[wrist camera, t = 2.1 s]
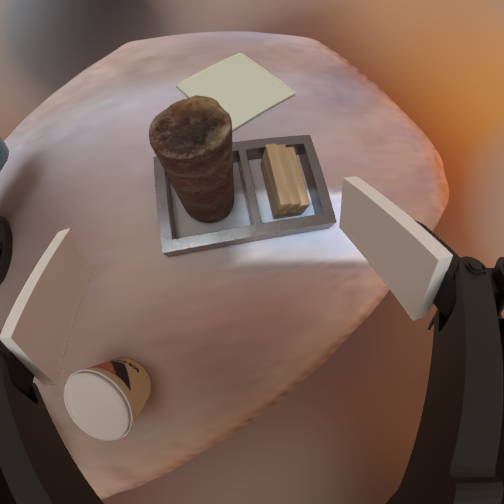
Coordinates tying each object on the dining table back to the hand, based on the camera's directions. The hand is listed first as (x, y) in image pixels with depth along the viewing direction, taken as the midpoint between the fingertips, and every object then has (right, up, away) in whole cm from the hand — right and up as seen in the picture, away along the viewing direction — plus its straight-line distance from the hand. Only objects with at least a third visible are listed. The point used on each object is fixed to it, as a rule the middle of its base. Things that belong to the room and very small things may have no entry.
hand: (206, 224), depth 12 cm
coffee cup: (-17, -21, +22) cm, 35 cm away
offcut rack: (+1, +7, +28) cm, 29 cm away
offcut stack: (+6, +8, +29) cm, 31 cm away
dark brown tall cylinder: (-4, +6, +28) cm, 29 cm away
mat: (-1, +29, +32) cm, 43 cm away
